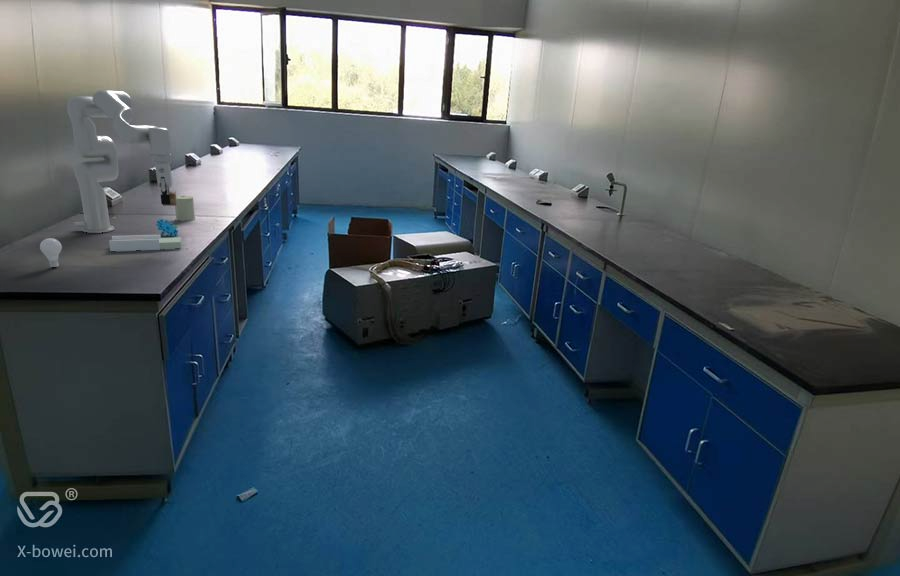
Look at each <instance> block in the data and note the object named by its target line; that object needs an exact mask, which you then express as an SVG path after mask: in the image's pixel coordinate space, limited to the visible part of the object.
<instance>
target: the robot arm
mask: <svg viewBox="0 0 900 576" xmlns="http://www.w3.org/2000/svg"><path fill="white" fill-rule="evenodd" d="M66 110H67V115H68V117H69V119H70V122H71V126H72V132H73V141H74V148H75V151H76V154H77V155H78V157H81V158H83V159H97V158H98V159H99V158H100V159H101V160H98V159H97V160H84V161H80V162H77V163H76V164H75V165H74V167H73V172H74V176H75V178H76V180H77V183H78V188H79V192H80V193H79V194H80V200H81V205H82V211H83V212H82V213H83V217H84V220H83V221H81V222H80V221H74V222H73V225H74V227H76V228H80V227H82V228H81V229H82V230H81V231H82V232H84V233H86V232H87V233H88V234H101V233H102V232H103V233H109V232H112V231H114V230H115V226H113V225H111V221H110V215H109V209H108V202H107V196H106V191H105V189H104V188H103V187H102V186H101V185H100V183H104V182H112V181H115V180H117V179H118V177H119V173H120V172H119V162H118V152H117V150H118V149H117V146H116V144H115V142H114V140H113V139H112V138H111V137H109V136H108V135H97V134H98V133H97V127H96V125H95V123H94V121H93V120H92V119H91V118H109V119H111V120H112V127H113V129H114V131H115V134H117V136H118V137H119V138H121V139H122V140H123V141H124V142H126V143H127V144H129V145H132V146H133V145H134V146H141V145H143V146H144V145H147V146H148V145H149V151H150V158H151V163H152V164H154V166H155V174H156V175H155V176H156V182H157V186H158V188H159V189H160V202H161V203H160V204H161V205H163V204H170V197H169V195H168V192H170V188H172V187H173V180H172V179H173V178H172V170H171V169H172V168H171V164H173V157H172V146H171V139H170V137H171V136H170V131H169V129H168V128H166V127H159V126H155V125H137V124H136V125H135V124H134V125H131V124H130V123H131V122H132V121H133V119H134V111H133V100H132V98H131V96H130V95H129V93H127V92H125V91H123V90H109V89H108V90H107V89H106V90H105V89H104V90H103V89H101V90H97V91H96V92H95V93H94V94H93V95H92V96H90V95H89V96H87V95H82V96H81V95H80V96H78V95H77V96H73V97H71V98H69V100H68V101H67V105H66Z"/></svg>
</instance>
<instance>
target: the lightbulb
mask: <svg viewBox="0 0 900 576" xmlns="http://www.w3.org/2000/svg"><path fill="white" fill-rule="evenodd" d="M39 249H40V251H41V253H43V254H44V256H45V257H46V258H47V260H48V263H49V267H50V268H52V267H56V268H58V267H59V254H61V252H62V249H63V245H62V244H61V242H60V241H59V240H58V239H56V238H54V237H51V238H50V237H49V238H48V237H47V238H45V239H43V240H42V241H41V242H40V244H39Z"/></svg>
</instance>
